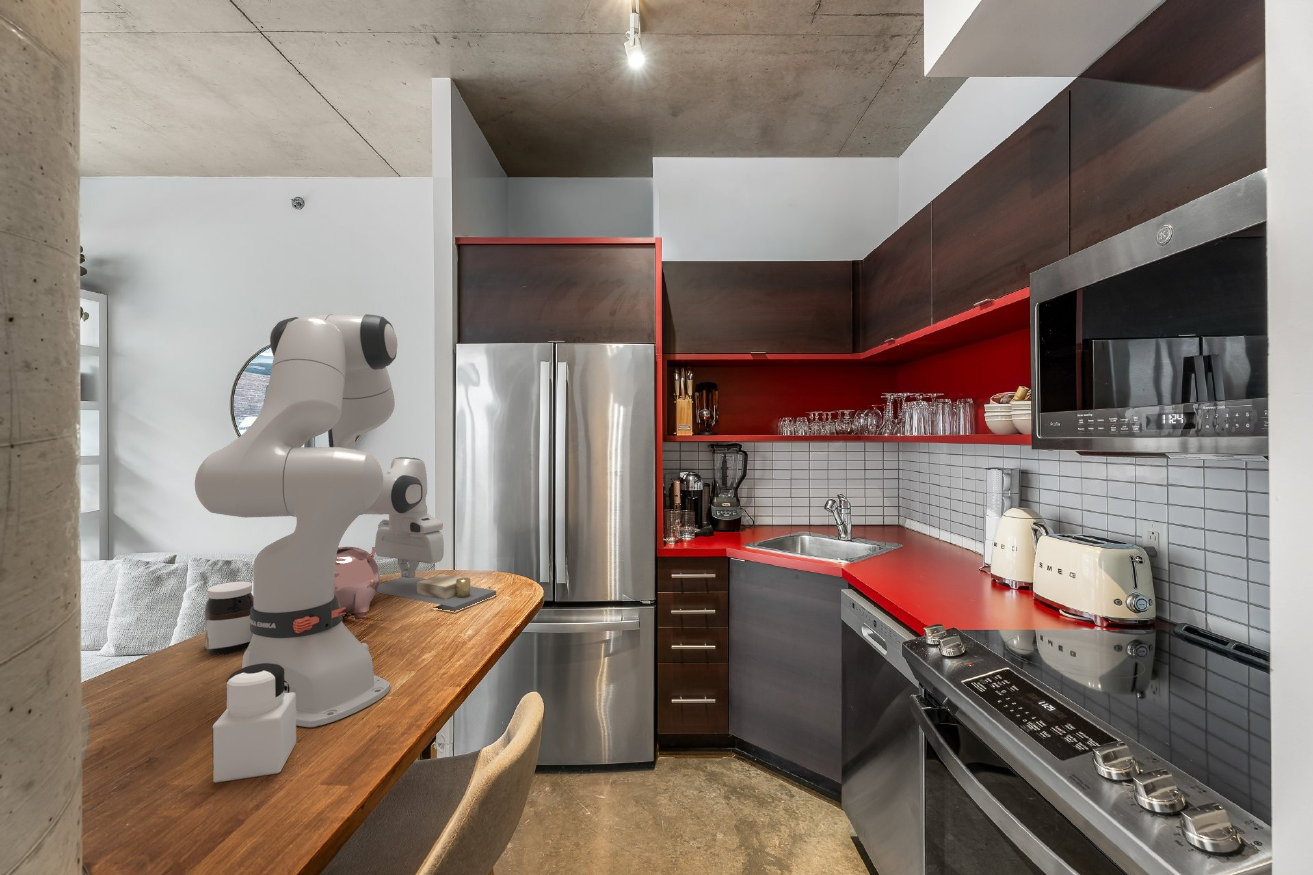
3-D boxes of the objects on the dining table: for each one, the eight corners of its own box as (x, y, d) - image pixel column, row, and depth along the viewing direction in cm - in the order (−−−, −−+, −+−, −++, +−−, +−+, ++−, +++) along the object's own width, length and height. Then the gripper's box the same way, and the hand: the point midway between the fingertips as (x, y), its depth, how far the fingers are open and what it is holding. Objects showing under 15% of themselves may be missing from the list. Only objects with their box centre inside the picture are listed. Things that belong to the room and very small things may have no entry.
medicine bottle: (234, 751, 77) (233, 661, 76) (296, 743, 79) (296, 655, 78) (211, 784, 70) (210, 685, 70) (280, 774, 72) (279, 677, 72)
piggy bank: (285, 613, 130) (284, 542, 130) (374, 600, 140) (374, 534, 140) (287, 635, 117) (286, 556, 117) (385, 619, 127) (384, 546, 127)
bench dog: (473, 595, 140) (473, 578, 140) (463, 598, 137) (463, 581, 137) (462, 593, 141) (462, 576, 141) (453, 596, 139) (453, 580, 138)
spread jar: (203, 644, 112) (202, 584, 112) (272, 630, 120) (272, 574, 119) (208, 664, 103) (208, 599, 103) (283, 648, 111) (283, 587, 110)
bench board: (496, 596, 144) (496, 590, 144) (454, 613, 131) (454, 606, 131) (407, 581, 157) (407, 575, 157) (361, 595, 144) (361, 589, 144)
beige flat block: (469, 590, 144) (469, 578, 144) (445, 599, 137) (445, 586, 136) (442, 585, 148) (442, 574, 147) (417, 594, 140) (416, 581, 140)
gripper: (368, 520, 148) (368, 575, 148) (428, 527, 139) (428, 585, 139) (389, 517, 153) (389, 569, 154) (448, 523, 145) (448, 578, 145)
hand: (408, 577), depth 146 cm, fingers closed
